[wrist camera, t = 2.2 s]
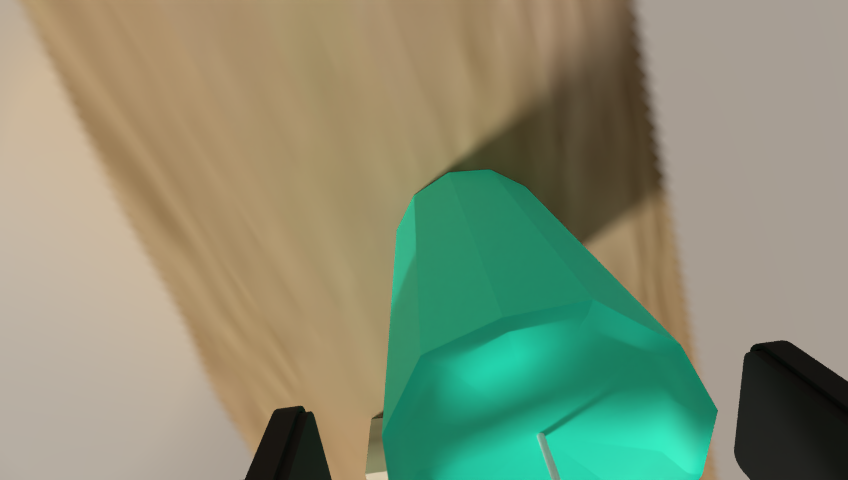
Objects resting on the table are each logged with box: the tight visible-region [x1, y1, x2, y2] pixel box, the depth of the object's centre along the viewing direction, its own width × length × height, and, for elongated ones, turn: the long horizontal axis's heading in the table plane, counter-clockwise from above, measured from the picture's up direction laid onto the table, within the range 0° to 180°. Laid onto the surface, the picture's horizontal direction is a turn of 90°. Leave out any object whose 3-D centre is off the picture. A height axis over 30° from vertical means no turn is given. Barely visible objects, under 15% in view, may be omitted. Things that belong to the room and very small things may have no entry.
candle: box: [382, 169, 718, 480], centre depth 12 cm, size 6×6×12 cm
